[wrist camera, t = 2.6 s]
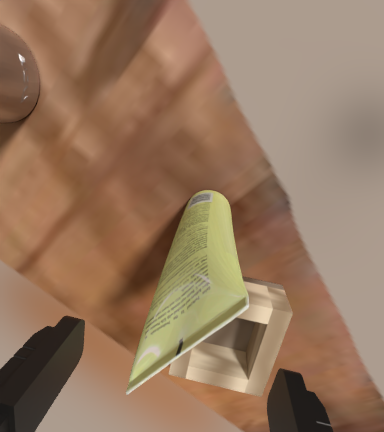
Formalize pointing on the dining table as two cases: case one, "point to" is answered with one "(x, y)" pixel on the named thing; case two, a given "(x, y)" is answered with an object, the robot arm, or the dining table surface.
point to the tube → (192, 287)
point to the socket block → (241, 344)
